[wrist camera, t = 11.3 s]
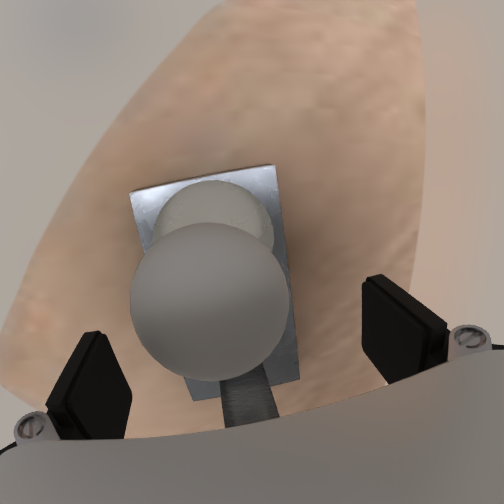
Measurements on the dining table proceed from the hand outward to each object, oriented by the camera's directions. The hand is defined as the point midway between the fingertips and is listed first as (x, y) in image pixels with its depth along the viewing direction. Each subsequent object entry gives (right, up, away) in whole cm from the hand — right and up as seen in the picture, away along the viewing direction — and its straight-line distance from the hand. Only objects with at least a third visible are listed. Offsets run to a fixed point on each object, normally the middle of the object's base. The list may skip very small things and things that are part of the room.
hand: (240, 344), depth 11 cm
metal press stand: (-2, 0, +12) cm, 12 cm away
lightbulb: (-3, +4, +9) cm, 10 cm away
